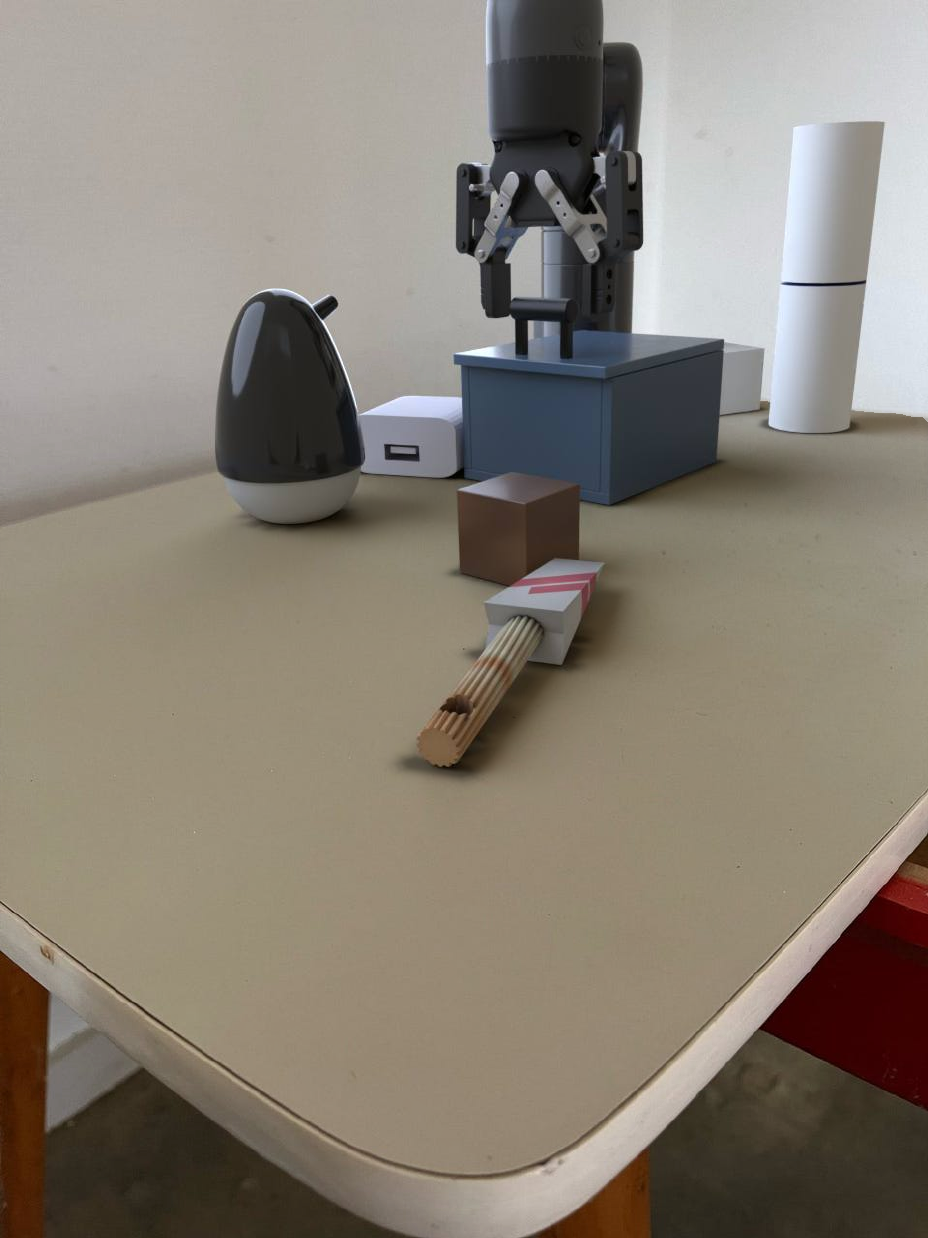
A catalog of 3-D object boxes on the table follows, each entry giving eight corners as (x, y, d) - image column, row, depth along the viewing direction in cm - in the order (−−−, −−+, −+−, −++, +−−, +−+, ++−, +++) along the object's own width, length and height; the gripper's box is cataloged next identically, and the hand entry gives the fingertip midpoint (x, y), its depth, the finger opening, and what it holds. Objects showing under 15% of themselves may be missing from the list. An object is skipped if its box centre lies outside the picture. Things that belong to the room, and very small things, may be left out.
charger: (515, 438, 91) (456, 479, 78) (422, 434, 94) (351, 472, 81) (514, 386, 89) (454, 418, 76) (420, 383, 92) (347, 413, 79)
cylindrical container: (756, 428, 92) (780, 126, 82) (785, 414, 97) (811, 129, 87) (834, 436, 88) (869, 119, 78) (860, 421, 93) (895, 123, 83)
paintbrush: (615, 537, 53) (481, 724, 36) (614, 585, 54) (483, 787, 37) (546, 531, 54) (385, 708, 38) (546, 577, 55) (391, 769, 39)
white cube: (711, 416, 97) (715, 353, 95) (674, 407, 102) (677, 347, 100) (760, 409, 100) (764, 347, 97) (721, 400, 105) (724, 341, 102)
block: (459, 572, 58) (456, 489, 56) (512, 550, 61) (511, 471, 59) (526, 591, 55) (526, 503, 53) (579, 566, 58) (580, 483, 56)
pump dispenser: (400, 507, 71) (387, 283, 65) (290, 545, 64) (265, 296, 58) (304, 487, 77) (284, 281, 71) (193, 519, 70) (161, 292, 64)
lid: (605, 379, 66) (607, 303, 64) (453, 364, 74) (450, 297, 72) (724, 349, 77) (728, 284, 75) (580, 339, 86) (580, 280, 84)
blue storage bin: (609, 505, 70) (612, 378, 66) (464, 477, 78) (460, 363, 75) (716, 461, 80) (724, 349, 77) (578, 441, 89) (580, 340, 86)
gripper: (671, 49, 62) (660, 318, 68) (496, 75, 71) (500, 311, 77) (604, 37, 57) (599, 329, 63) (424, 66, 66) (434, 320, 72)
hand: (544, 319), depth 70 cm, fingers open, 8 cm apart
